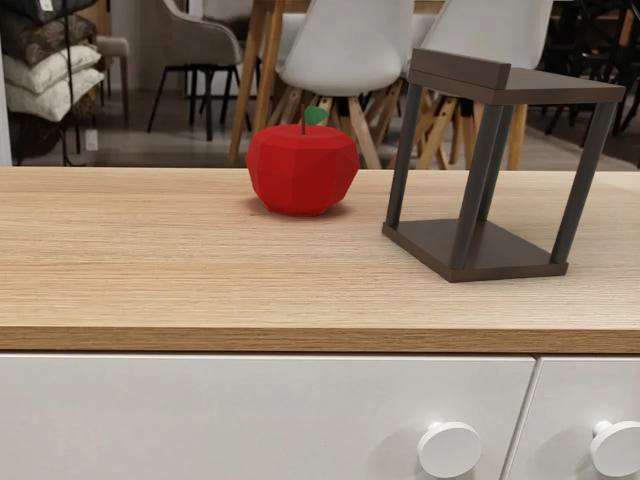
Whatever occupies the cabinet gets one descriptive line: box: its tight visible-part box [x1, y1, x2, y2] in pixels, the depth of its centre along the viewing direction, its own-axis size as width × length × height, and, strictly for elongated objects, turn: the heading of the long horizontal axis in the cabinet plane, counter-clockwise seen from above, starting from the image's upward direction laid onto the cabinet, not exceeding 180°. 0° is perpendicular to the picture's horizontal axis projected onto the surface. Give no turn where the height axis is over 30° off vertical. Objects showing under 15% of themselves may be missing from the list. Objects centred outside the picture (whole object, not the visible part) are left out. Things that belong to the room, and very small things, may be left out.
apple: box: [245, 103, 360, 217], centre depth 67 cm, size 11×11×10 cm
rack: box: [380, 47, 627, 283], centre depth 54 cm, size 10×12×16 cm
